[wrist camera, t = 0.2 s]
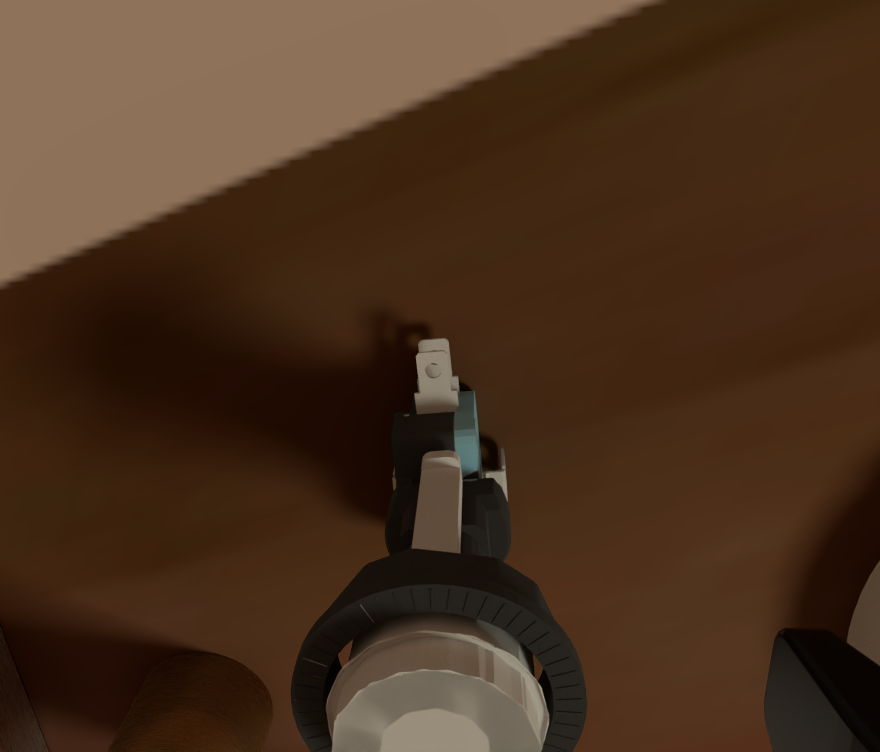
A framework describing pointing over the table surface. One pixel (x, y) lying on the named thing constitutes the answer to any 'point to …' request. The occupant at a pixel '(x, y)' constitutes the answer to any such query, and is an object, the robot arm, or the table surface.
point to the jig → (16, 709)
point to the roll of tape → (867, 619)
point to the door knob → (197, 708)
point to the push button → (440, 610)
